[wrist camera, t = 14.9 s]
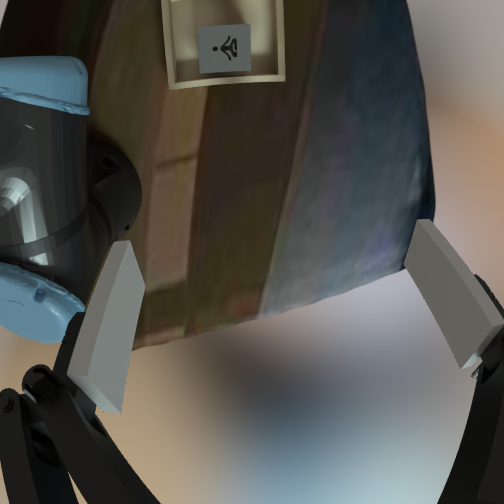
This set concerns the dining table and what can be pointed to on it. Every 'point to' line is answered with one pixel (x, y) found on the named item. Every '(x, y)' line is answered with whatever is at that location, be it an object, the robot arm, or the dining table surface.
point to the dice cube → (224, 48)
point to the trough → (222, 13)
